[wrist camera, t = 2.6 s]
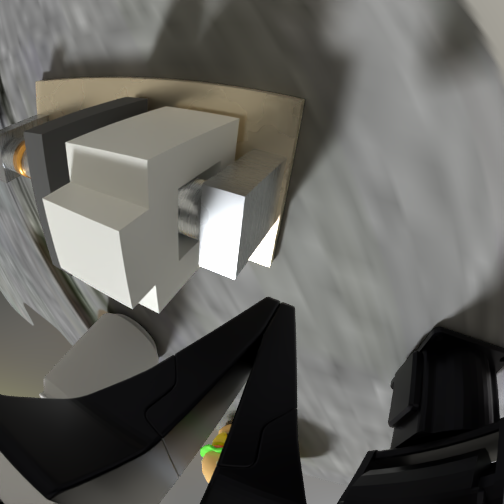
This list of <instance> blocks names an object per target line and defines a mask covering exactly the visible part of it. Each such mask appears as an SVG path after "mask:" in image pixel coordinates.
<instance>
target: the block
mask: <svg viewBox="0 0 504 504" xmlns="http://www.w3.org/2000/svg"><path fill="white" fill-rule="evenodd" d="M146 112H148V99H146V98H135V97H123V98H120V99H116V100H112V101H109V102H105V103H102V104H99V105H95V106H92V107H89V108H86V109H83V110H79V111H76V112H74V113H71V114H68V115H65V116H62V117H59V118H57V119H54V120H51V121H49V122H46V123H43V124H41V125H38V126H36V127H33V128H31V129H29V130H26V131H24V140H25V147H26V153H27V160H28V166H29V171H30V177H31V182H32V187H33V191H34V196H35V200H36V205H37V209H38V213H39V217H40V221H41V225H42V228H43V232H44V236H45V239H46V243H47V246H48V249H49V253H50V256H51V259H52V262H53V265H55V266H56V267H58V268H59V269H61V270H63V271H64V272H66V273H67V274H69V275H71V276H73V275H72V274H70V273H68V272H67V271H65V270H64V269H62V268H61V266H60V263H59V260H58V257H57V253H56V250H55V247H54V243H53V239H52V236H51V232H50V228H49V224H48V220H47V216H46V212H45V208H44V203H43V199H42V198H44V197H45V196H47V195H49V194H50V193H52V192H54V191H56V190H57V189H59V188H61V187H63V186H64V185H66V184H68V183H70V176H69V169H68V161H67V153H66V144H65V142H67V141H70V140H72V139H74V138H77V137H79V136H82V135H84V134H87V133H89V132H92V131H94V130H97V129H99V128H102V127H105V126H107V125H110V124H113V123H116V122H119V121H121V120H124V119H127V118H130V117H133V116H136V115H139V114H142V113H146Z"/></svg>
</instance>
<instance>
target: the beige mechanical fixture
mask: <svg viewBox="0 0 504 504" xmlns="http://www.w3.org/2000/svg"><path fill="white" fill-rule="evenodd" d="M123 97H135V98H146V99H148V112H149V111H152V110H155V109H159V108H162V107H166V106H167V107H175V108H182V109H189V110H195V111H202V112H208V113H213V114H219V115H224V116H230V117H235V118H240V119H239V127H238V136H237V144H236V153H235V161H234V162H233V163H232V164H230V165H229V166H227V167H226V168H224V169H223V170H221V171H220V172H218V173H217V174H216V175H214V176H213V177H211V178H210V179H208V180H205V179H202V178H198V177H195V178H193V179H192V180H190V181H189V182H187V183H186V184H184V185H183V186H181V187H180V188H178V233H181V234H183V235H186V236H189V237H191V238H194V239H197V240H200V241H199V266H201V267H204V268H207V269H209V270H212V271H214V272H217V273H219V274H222V275H224V276H227V277H230V278H232V279H235V278H236V277H237V276H238V274H239V273H240V271H241V270H242V269H243V267H244V266H245V265H246V263H247V262H248V260H251V261H254V262H257V263H259V264H262V265H265V266H268V267H270V265H271V264H272V262H273V259H274V254H275V250H276V245H277V240H278V235H279V231H280V226H281V221H282V216H283V211H284V206H285V201H286V196H287V192H288V187H289V182H290V177H291V171H292V166H293V161H294V156H295V151H296V146H297V141H298V135H299V130H300V125H301V120H302V114H303V109H304V104H305V99H301V98H297V97H292V96H288V95H283V94H278V93H273V92H268V91H262V90H257V89H251V88H245V87H239V86H232V85H225V84H217V83H209V82H201V81H191V80H180V79H166V78H149V77H78V78H61V79H49V80H40V81H37V82H36V101H37V115H35V116H33V117H30V118H27V119H25V120H22V121H20V122H17V123H15V124H13V125H10V126H8V127H6V128H3V129H1V130H0V180H1V181H3V182H5V183H8V182H10V181H11V180H13V179H15V178H17V177H18V176H20V175H23V176H25V177H28V178H31V177H30V171H29V166H28V160H27V153H26V147H25V140H24V131H26V130H29V129H31V128H33V127H36V126H38V125H41V124H43V123H46V122H49V121H51V120H54V119H57V118H59V117H62V116H65V115H68V114H71V113H74V112H76V111H79V110H83V109H86V108H89V107H92V106H95V105H99V104H102V103H105V102H109V101H112V100H116V99H120V98H123Z"/></svg>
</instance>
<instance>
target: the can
mask: <svg viewBox="0 0 504 504" xmlns="http://www.w3.org/2000/svg"><path fill="white" fill-rule="evenodd" d="M158 361H159V357H158V354H157V347H156V344H155V342H154V340H153V339H152V337H151V336H150V335H149V334H148V332H147V331H146V330H145V329H144V328H143V327H142V326H141V325H139V324H138V323H137V322H136V321H134V320H133V319H131V318H130V317H128V316H125V315H123V314H118V313H117V314H112V313H106V314H103V315H102V316H101V317H100V318H99V319H98V320H97V321H96V323H95V324H94V325H93V326H92V327H91V328H90V329H89V330H88V331H87V332H86V333H85V334H84V335H83V336H82V337H81V338H80V339H79V340H78V341H77V342H76V343H75V345H74V346H73V347H72V348H71V349H70V350H69V351H68V352H67V353H66V354H65V356H63V357H62V359H61V360H60V361H59V362H58V363H57V364H56V365H55V366H54V367H53V368H52V369H51V371H50V372H49V373H48V374H47V375H46V376H45V377H44V392H43V393H40V397H41V398H60V399H67V398H76V397H81V396H85V395H88V394H91V393H93V392H96V391H99V390H101V389H104V388H106V387H108V386H111V385H113V384H116V383H118V382H121V381H123V380H126V379H128V378H130V377H132V376H135V375H137V374H139V373H141V372H143V371H146V370H148V369H149V368H151V367H153V366H155V365H157V364H158Z"/></svg>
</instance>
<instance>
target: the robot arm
mask: <svg viewBox="0 0 504 504" xmlns="http://www.w3.org/2000/svg"><path fill="white" fill-rule="evenodd" d="M437 335H440V336H437ZM503 366H504V349H503V348H500V347H497V346H494V345H492V344H489V343H486V342H483V341H480V340H477V339H474V338H471V337H468V336H466V335H463V334H460V333H457V332H454V331H451V330H448V329H445V328H443V327H437V328H434V329H433V330H432V331H431V332H430V334H429V335H428V336H427V338H426V339H425V340H424V342H423V343H422V344H421V346H420V347H419V348H418V349H417V351H414V352H413V353H412V354H411V355H410V356H409V357H408V359H407V360H406V361H405V362H404V364H403V365H402V366H401V367H400V368H399V370H398V371H397V372H396V374H395V377H394V378H393V379H392V381H391V388H392V389H393V395H392V402H391V408H390V414H389V420H388V424H389V426H390V427H392V428H394V432H393V437H392V443H391V448H390V449H389V450H382V451H378V450H373V451H368V452H367V454H366V456H365V458H364V459H363V461H362V463H361V465H360V467H359V468H358V470H357V472H356V474H355V475H354V477H353V479H352V480H351V482H350V484H349V485H348V487H347V489H346V490H345V492H344V493H343V495H342V496H341V498H340V499H339V501H338V503H337V504H504V417H503V418H501V419H500V413H499V398H498V387H497V377H496V373H497V372H498V371H499V370H500V369H501V368H502V367H503ZM247 379H248V380H247ZM246 381H247V383H246V385H245V388H244V391H243V394H242V397H241V400H240V402H239V405H238V408H237V411H236V413H235V416H234V419H233V422H232V424H231V427H230V430H229V433H228V435H227V438H226V441H225V443H224V446H223V449H222V451H221V454H220V457H219V459H218V462H217V464H216V467H215V470H214V472H213V475H212V477H211V480H210V482H209V484H208V487H207V489H206V491H205V493H204V496H203V498H202V500H201V502H200V504H307V503H306V497H305V490H304V483H303V476H302V469H301V462H300V454H299V444H298V425H297V409H296V408H297V358H296V322H295V307H294V306H292V305H289V304H286V303H284V302H282V303H281V304H280V301H279V300H276V299H273V298H271V297H266V298H264V299H263V300H261V301H259V302H258V303H256V304H255V305H253V306H252V307H250V308H249V309H247V310H245V311H244V312H242V313H241V314H239V315H238V316H236V317H234V318H233V319H231V320H230V321H228V322H226V323H225V324H223V325H222V326H220V327H218V328H217V329H215V330H214V331H212V332H210V333H209V334H207V335H206V336H204V337H202V338H201V339H199V340H197V341H196V342H194V343H192V344H191V345H189V346H188V347H186V348H184V349H183V350H181V351H179V352H178V353H176V354H175V356H174V355H172V356H171V357H169V358H167V359H166V360H164V361H162V362H160V363H159V364H157V365H155V366H153V367H151V368H149V369H148V370H146V371H143V372H141V373H139V374H137V375H135V376H132V377H130V378H128V379H126V380H123V381H121V382H118V383H116V384H113V385H111V386H108V387H106V388H104V389H101V390H99V391H96V392H93V393H91V394H88V395H85V396H81V397H76V398H67V399H60V398H31V397H14V396H6V395H1V394H0V504H159V503H160V502H161V500H162V499H163V498H164V497H165V495H166V494H167V493H168V491H169V490H170V488H171V487H172V486H173V485H174V484H175V482H176V481H177V480H178V478H179V476H180V475H181V474H182V473H183V471H184V470H185V469H186V467H187V466H188V465H189V463H190V462H191V461H192V459H193V458H194V456H195V455H196V454H197V452H198V451H199V449H200V448H201V447H202V445H203V444H204V442H205V441H206V440H207V438H208V437H209V435H210V434H211V433H212V431H213V430H214V428H215V427H216V425H217V424H218V423H219V421H220V420H221V418H222V417H223V415H224V414H225V412H226V411H227V409H228V408H229V406H230V405H231V404H232V402H233V401H234V399H235V398H236V396H237V395H238V393H239V392H240V390H241V388H242V387H243V385H244V384H245V382H246ZM496 460H497V461H496ZM493 461H496V462H494V463H491V462H493Z"/></svg>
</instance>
